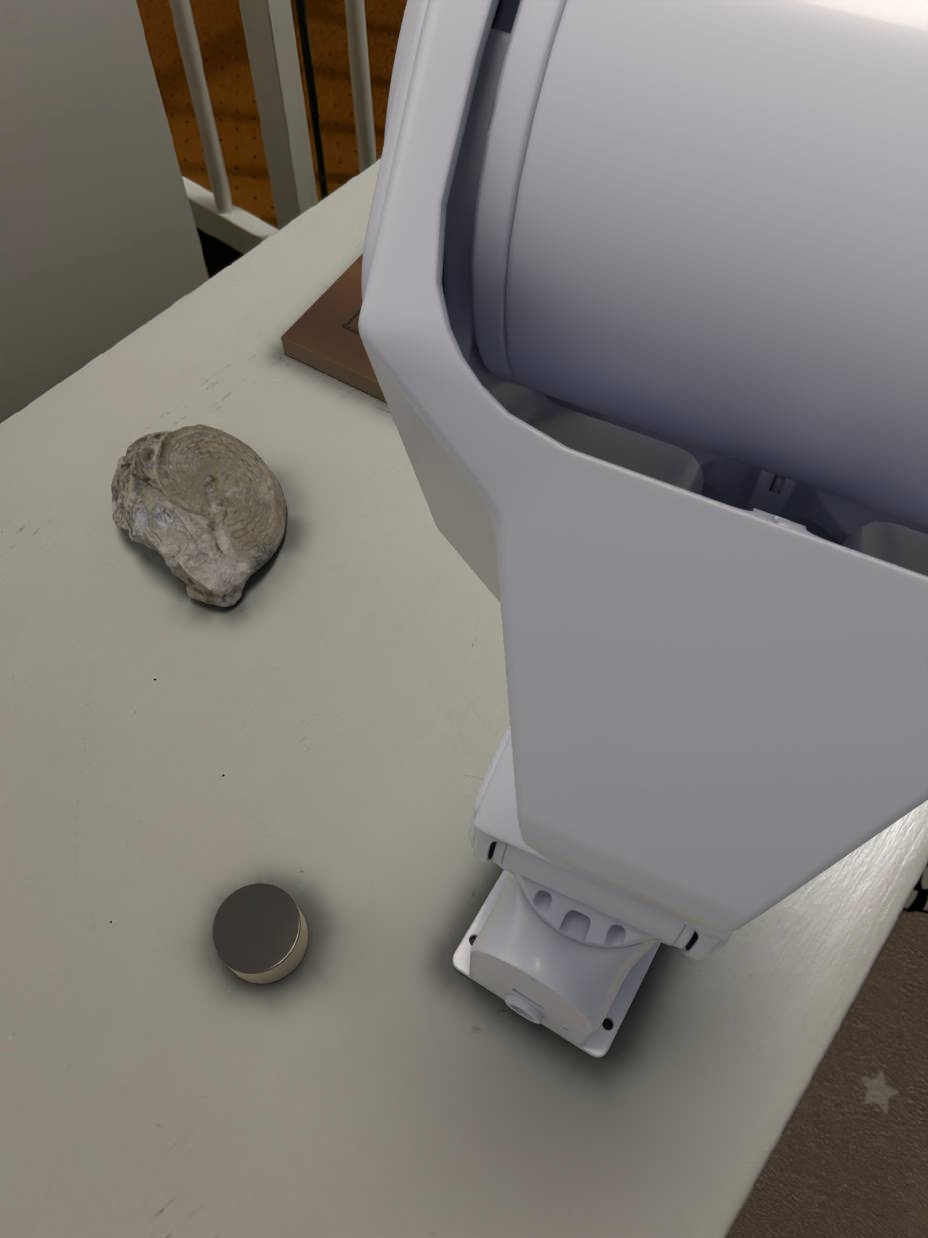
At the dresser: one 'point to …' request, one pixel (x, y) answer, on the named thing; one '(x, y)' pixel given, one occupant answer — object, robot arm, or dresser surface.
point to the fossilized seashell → (201, 507)
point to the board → (335, 334)
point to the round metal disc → (260, 933)
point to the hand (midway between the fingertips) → (756, 473)
